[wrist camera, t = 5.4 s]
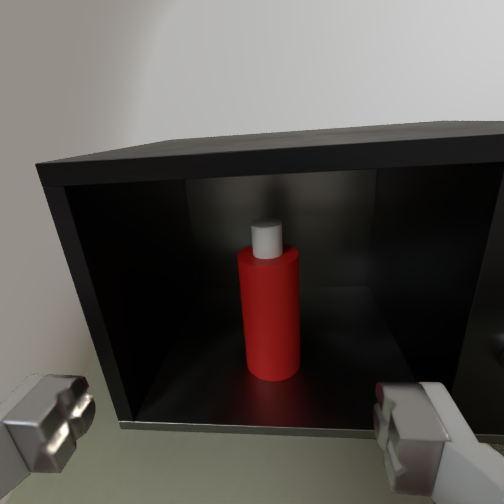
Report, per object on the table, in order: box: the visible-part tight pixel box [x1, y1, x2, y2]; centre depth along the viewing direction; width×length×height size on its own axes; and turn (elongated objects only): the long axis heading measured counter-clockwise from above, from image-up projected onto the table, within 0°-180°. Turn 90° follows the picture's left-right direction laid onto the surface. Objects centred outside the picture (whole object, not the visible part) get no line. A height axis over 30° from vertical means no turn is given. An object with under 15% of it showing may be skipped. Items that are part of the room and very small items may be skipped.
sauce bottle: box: [237, 218, 300, 381], centre depth 31 cm, size 6×6×16 cm
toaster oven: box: [35, 121, 504, 444], centre depth 34 cm, size 36×27×24 cm
